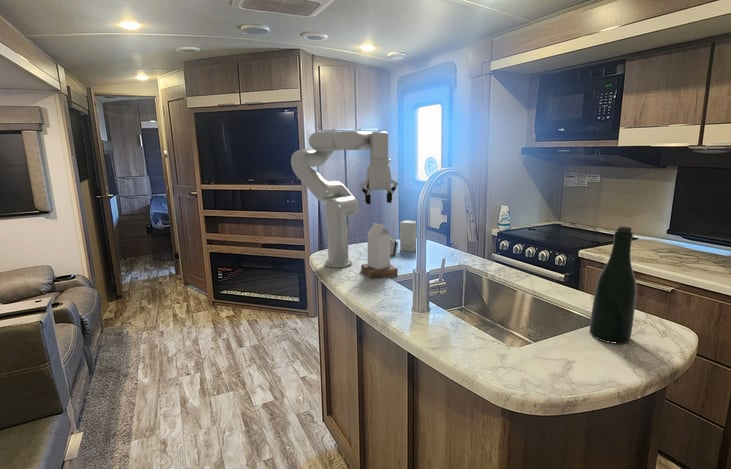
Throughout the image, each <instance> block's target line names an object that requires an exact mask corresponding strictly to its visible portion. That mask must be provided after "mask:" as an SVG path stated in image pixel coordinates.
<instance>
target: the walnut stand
mask: <svg viewBox="0 0 731 469" xmlns="http://www.w3.org/2000/svg"><path fill="white" fill-rule="evenodd" d="M360 270H361V272H362V273H363V274H365V275H366V276H367V277H369V278H371V280H375V279H381V278H383V279H384V278H388V277H389V278H390V277H395V276H399V275H398V274H399V271H398V268H397V267H396V266H394V265H392V264H391V263H390V267H386V268H382V269H375V268H372V267H369V266H368V263H364V264H363V263H362V264H361V269H360Z"/></svg>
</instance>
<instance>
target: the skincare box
mask: <svg viewBox="0 0 731 469" xmlns="http://www.w3.org/2000/svg"><path fill="white" fill-rule="evenodd" d="M399 243H400V244H399V250H400V251H405V252H409V253H415V252H416V220H415V221H414V220H408V219H407V220H402V221H400V222H399Z"/></svg>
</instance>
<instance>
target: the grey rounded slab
mask: <svg viewBox="0 0 731 469" xmlns="http://www.w3.org/2000/svg"><path fill="white" fill-rule="evenodd" d="M398 246H399V242H398V241H397V240H396V239H395V238H393V237H391V236H390V256H395V257H396V256H397V252H398Z"/></svg>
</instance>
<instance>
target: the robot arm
mask: <svg viewBox="0 0 731 469" xmlns="http://www.w3.org/2000/svg"><path fill="white" fill-rule="evenodd" d="M308 143H309V146H310V148H305V149H299V150H295V151H294V152H293V153H292V154H291V158H290V164H291V168H292V170H293V173H294V175H296V177H297V178H298V179H299V180H300V181H301V182H302V183H303V184H304V185H305V186H306V188H308V190H309V192H310V193H311V194H312V195H313V196H314V197H315V198H316V199H317V200H318V201H320V202H321V203H325V205H324V214H325V219H326V226H327V227H326V228H327V256H328V257H327V258H328V259H327V260H325V262H324V265H325V266H326V267H328V268H334V269H336V268H337V269H340V268H346V267H350V266H351V265H353V264H352V263H353V262H352V260H351V259H350V258H349V228H348V223H347V220H346V217H350V216H353V215H355V214H356V213H357V212H358V211H359V202H358V200H357V199H356V197H355V196H354V195H353V194H352V193H351V192H350V190H349V189H348V188H347V187H346V186H345V185H344V184H343V183H342V182H341V181H338V180H326V179H325V178H324V177H323V176H322V175H321V174H320V173H319V172H318V171H317V170H316V169H314V167H315V168H317V167H321V166H323V165H324V164H325V163H326V162H327V161H328V160H329V158H330V157H331V156H332V154H333V153H334V152H338V151H361V150H363V151H364V150H365V151H366V150H368V151H369V165H367V169H366V174H365V175H366V176H365V177H366V178H365V180H364V181H362V182H361V183H360V184H359V185H358V186H359V188H360V189H361V192H363V193H364V196H365V197H364V198H365V203H366V204H367V205H371V204H372V202H371V201H372V200H371V198H372V197H371V196H372V195H371V192H372V191H383V190H386V192H387V193H386V203H389V204H392V201H393V194H394V193H395V190H396V189H397V187H398V185H399V183H398V182H397V181H395V180H394V179H392V175H391V174H392V173H391V168H390V165H389V164H391V162H392V159H390V158H389V134H388V132H387V131H364V130H363V131H362V130H360V131H359V130H352V131H351V130H349V131H339V130H334V131H333V130H332V131H330V130H329V131H316V132H313V133H312V134H311V135H310V136H309V137H308ZM392 184H393V185H392Z"/></svg>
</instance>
